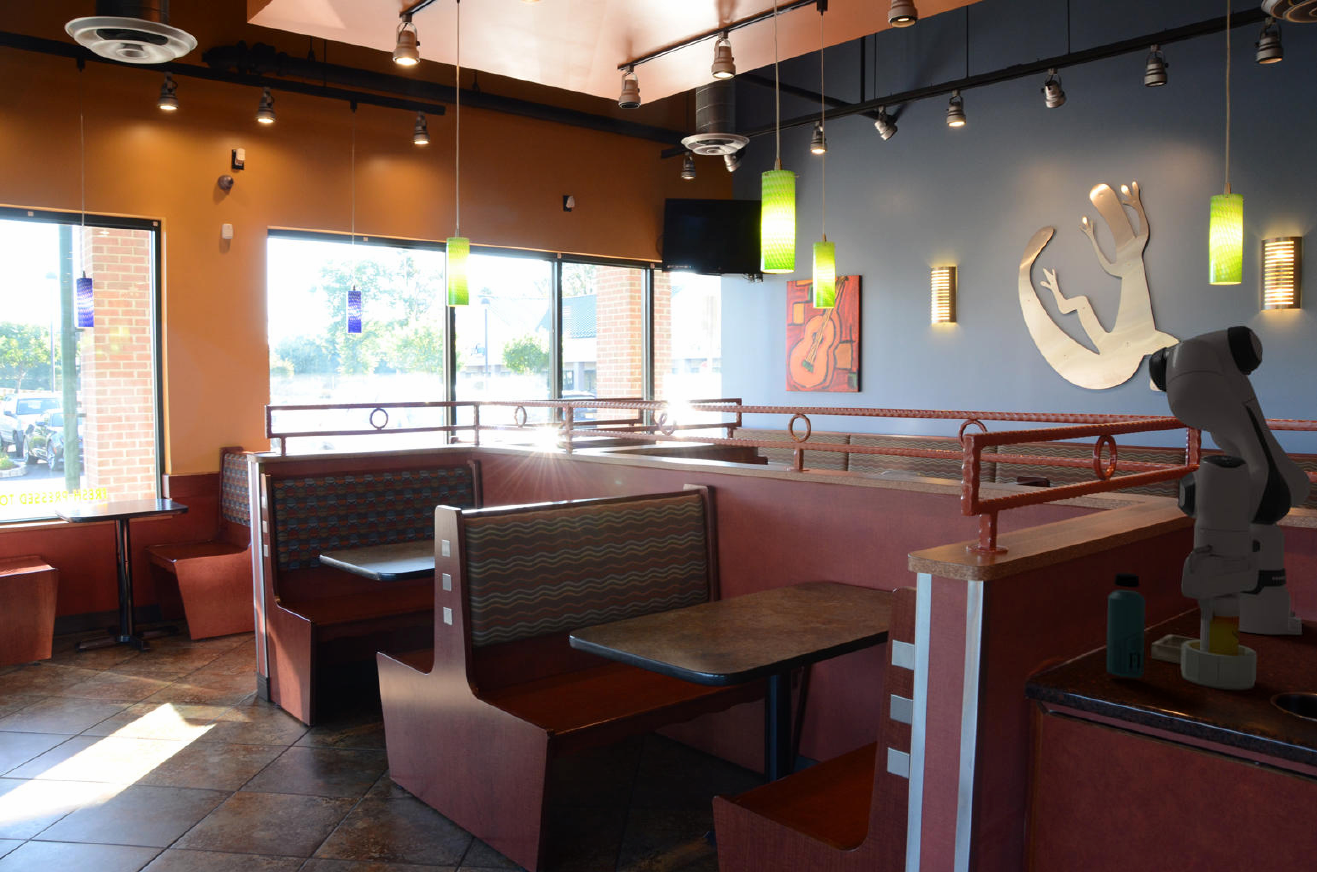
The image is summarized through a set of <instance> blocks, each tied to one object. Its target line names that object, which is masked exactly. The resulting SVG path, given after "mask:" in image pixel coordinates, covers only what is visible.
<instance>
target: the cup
mask: <svg viewBox="0 0 1317 872" xmlns="http://www.w3.org/2000/svg"><path fill="white" fill-rule="evenodd" d="M1257 654H1258V652H1256V651H1255V650H1254V649H1252V648H1250V647H1247V646H1244V645H1240V644H1239V646H1238V656H1232V655H1218V654H1213V653H1207V652H1202V651H1200V640H1190V641H1185V642H1184V643H1182V649H1181V664H1180V671H1181V676H1182V678H1183V679H1184V680H1186V681H1188V682H1190V683H1193V684H1196V685H1200V686H1204V687H1206V688H1207V687H1208V688H1212V689H1213V688H1214V689H1218V690H1219V689H1220V690H1227V691H1228V690H1229V691H1230V690H1232V691H1242V690H1251V689H1253V688H1254V687H1255V681H1256V680H1257V660H1258V659H1257V658H1258V657H1257Z"/></svg>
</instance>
